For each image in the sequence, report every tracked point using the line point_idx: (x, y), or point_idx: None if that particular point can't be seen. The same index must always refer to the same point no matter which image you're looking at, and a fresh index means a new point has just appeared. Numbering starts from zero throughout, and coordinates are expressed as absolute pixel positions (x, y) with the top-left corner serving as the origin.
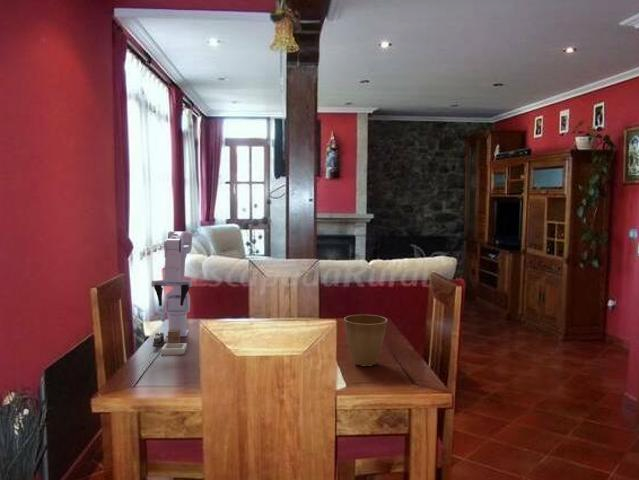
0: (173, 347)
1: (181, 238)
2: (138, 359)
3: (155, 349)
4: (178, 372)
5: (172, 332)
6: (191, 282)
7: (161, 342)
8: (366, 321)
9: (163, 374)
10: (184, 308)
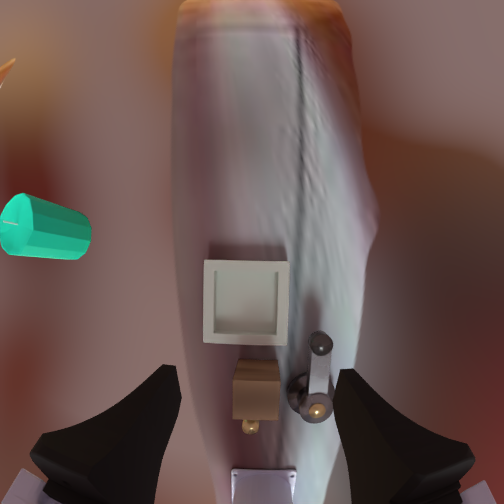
0: (253, 331)
1: None
2: (351, 212)
3: None
4: (211, 90)
5: (260, 379)
6: (9, 489)
7: None
8: None
9: (248, 78)
10: None
